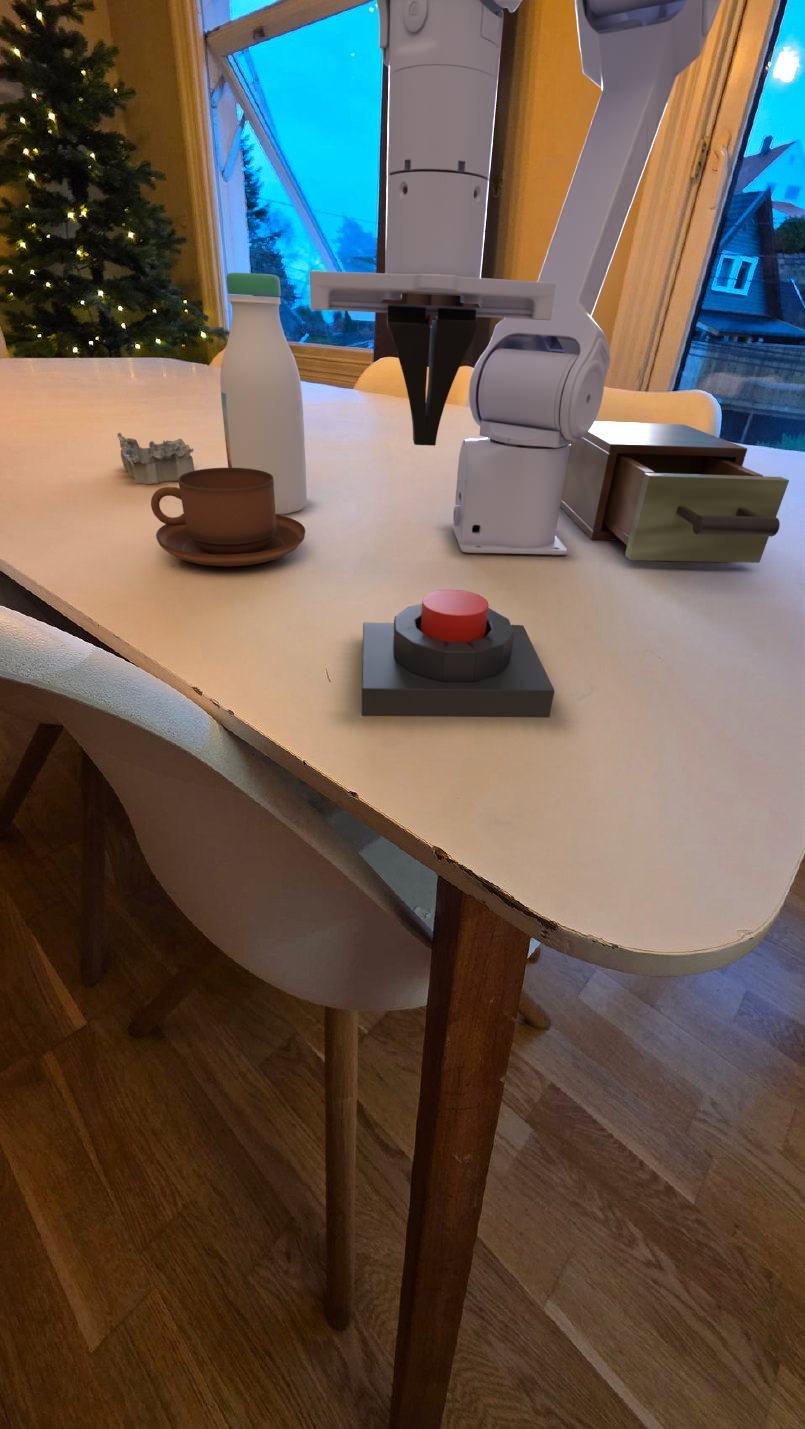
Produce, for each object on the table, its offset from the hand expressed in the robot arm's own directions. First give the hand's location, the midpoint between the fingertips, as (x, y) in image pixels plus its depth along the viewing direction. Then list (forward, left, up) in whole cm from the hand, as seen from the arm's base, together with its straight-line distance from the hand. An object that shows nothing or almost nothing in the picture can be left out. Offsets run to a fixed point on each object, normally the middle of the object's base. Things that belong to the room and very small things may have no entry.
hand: (424, 442), depth 42 cm
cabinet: (+24, +20, -10) cm, 33 cm away
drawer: (+24, +9, -10) cm, 27 cm away
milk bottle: (-14, +22, -11) cm, 28 cm away
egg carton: (-29, +35, -11) cm, 47 cm away
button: (+1, -14, -7) cm, 16 cm away
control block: (+1, -14, -10) cm, 17 cm away
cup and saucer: (-15, +7, -11) cm, 20 cm away
